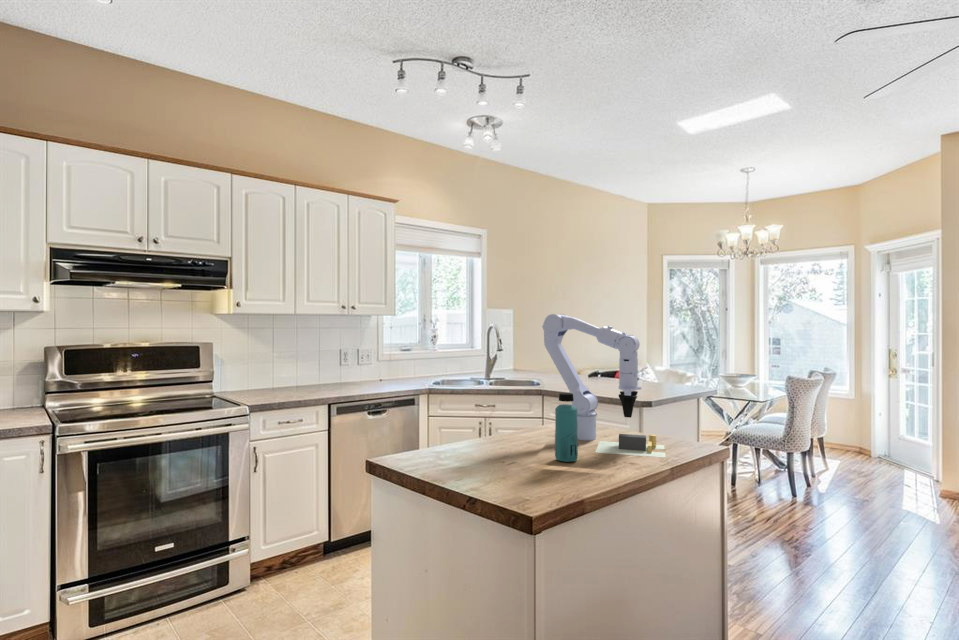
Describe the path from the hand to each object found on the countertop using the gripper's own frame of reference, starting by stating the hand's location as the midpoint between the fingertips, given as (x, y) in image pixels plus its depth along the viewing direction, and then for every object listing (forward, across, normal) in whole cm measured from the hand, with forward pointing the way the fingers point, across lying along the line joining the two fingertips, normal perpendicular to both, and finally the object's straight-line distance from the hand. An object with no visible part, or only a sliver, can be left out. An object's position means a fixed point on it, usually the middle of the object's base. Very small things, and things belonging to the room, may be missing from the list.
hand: (628, 415), depth 178 cm
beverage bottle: (+10, -28, +16) cm, 34 cm away
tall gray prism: (+9, -8, -2) cm, 12 cm away
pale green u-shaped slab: (+10, -8, -1) cm, 13 cm away
